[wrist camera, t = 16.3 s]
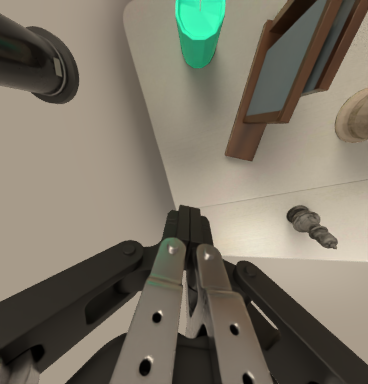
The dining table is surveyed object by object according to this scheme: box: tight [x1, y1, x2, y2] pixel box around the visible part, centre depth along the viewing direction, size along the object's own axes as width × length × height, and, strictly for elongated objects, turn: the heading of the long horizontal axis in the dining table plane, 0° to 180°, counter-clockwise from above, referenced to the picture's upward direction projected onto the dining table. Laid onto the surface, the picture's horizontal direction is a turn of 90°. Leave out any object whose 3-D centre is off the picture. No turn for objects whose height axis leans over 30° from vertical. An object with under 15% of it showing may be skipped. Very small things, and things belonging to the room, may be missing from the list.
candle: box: [176, 0, 226, 68], centre depth 22 cm, size 6×6×12 cm
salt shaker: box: [287, 206, 338, 249], centre depth 34 cm, size 6×6×12 cm
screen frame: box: [225, 0, 368, 161], centre depth 22 cm, size 6×22×18 cm, turn 169°
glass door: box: [243, 0, 343, 124], centre depth 21 cm, size 1×11×14 cm, turn 169°
